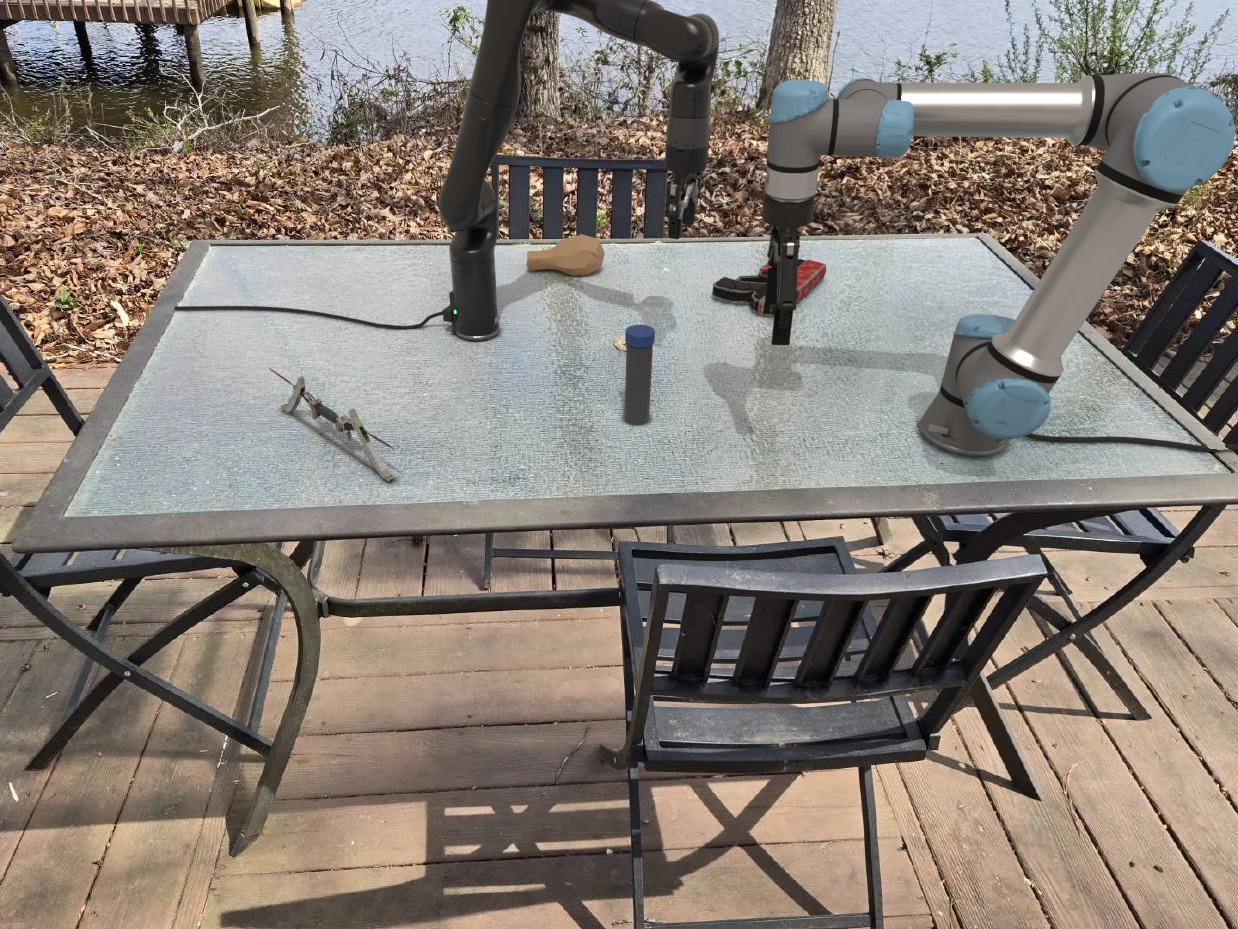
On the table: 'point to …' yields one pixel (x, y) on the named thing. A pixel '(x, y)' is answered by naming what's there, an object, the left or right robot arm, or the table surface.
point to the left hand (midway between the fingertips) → (681, 231)
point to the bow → (337, 424)
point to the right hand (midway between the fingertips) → (776, 324)
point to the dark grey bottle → (638, 384)
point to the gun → (755, 286)
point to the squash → (569, 256)
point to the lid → (640, 336)
